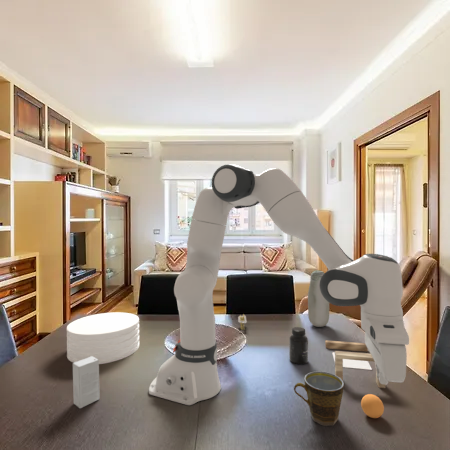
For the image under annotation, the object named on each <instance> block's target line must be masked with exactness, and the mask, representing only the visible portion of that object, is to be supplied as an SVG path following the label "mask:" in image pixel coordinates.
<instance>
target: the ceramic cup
mask: <svg viewBox="0 0 450 450" xmlns="http://www.w3.org/2000/svg"><path fill="white" fill-rule="evenodd" d="M303 381H304V383H303V382H297V383H296V384H295V385H294V387H293V390H294V393H295V394H296V395H297V396H299V397H300V398H301V399H302V400H303V401H304V402H306V403H307V405H308V408H309V412H310V413H309V414H310V417H311V419H312V420H313V422H315V423H317V424H319V425H321V426H324V427H325V426H334V425H335V424H336V423H337V421H339V415H340V409H341V404H342V398H343V396H344V395H343V393H344V389H345V383H344V380H343V381H342V380H341V379H340V378H339V377H338V376H336V375H335V373H330V372H327V371H318V370H317V371H312V372H308V373H307V374H305V375H304V380H303ZM297 387H301V388H303V389H304V391H305V392H306V396H307V399H305V397H304V396H303V395H301V394H300V393H299V392H297V390H296V389H297Z"/></svg>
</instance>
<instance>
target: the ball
mask: <svg viewBox="0 0 450 450" xmlns="http://www.w3.org/2000/svg"><path fill="white" fill-rule="evenodd" d="M360 406H361V409H362V411H363V413H364V414H365V415H366V416H367V417H369V418H371V419H378V418H380V417H382V415H384V412H385V411H384V410H385V405H384V403H383V400H381V399H380V397H378V395H376V394H373V393H368V394H367V393H366V394H365V395H364V396H363V397H362V399H361V401H360Z"/></svg>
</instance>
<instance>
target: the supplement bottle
mask: <svg viewBox="0 0 450 450" xmlns="http://www.w3.org/2000/svg"><path fill="white" fill-rule="evenodd" d="M291 328H292V329H291V335H290V337H289V349H288V350H289V351H288V352H289V361H290V362H291V363H292V364H295V365H305V364H307V363H308V362H309V339H308V337H307V336H306V328H304V327H299V326H295V327H291Z"/></svg>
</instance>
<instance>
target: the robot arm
mask: <svg viewBox="0 0 450 450" xmlns="http://www.w3.org/2000/svg"><path fill="white" fill-rule="evenodd" d="M258 204H261V206H262V208H263V209H264V210H265V212H266V213H267V214H268V217H270V219H271V221H272V222H273V224H274V225H275V226H276V227H277V228H278V229H279V230H280V231H282V232H283V233H284V234H286V235H288V236H292V237H294V238H297V239H299V240H302V241H303V242H305V243H306V244H307V245H309V246H310V247H311V248H312V249H313V251H314V252H315V254H316V255H317V256H318V258H319V259H320V260H321V262H323V264H324V265H325V267H326V268H327V270H326V271H325V272H324V274H323V276H322V277H321V280H320V291H321V294H322V295H323V297H324V298H325V299H326V300H327V301H328V302H329V304H331V305H333V306H337V307H354V306H356V307H357V306H360V326H361V327H360V328H361V330H362V331H364V343H365V344H366V346H367V348H368V352H369V354H371V355H372V357H373V359H374V361H375V362H374V364H375V371H376V370H377V378H378V380H379V382H380V383H381V384H385V386H386V385H388V384H389V382H391V383H392V382H393V383H404V381H405V379H406V375H407V355H408V354H407V347H406V346H407V345H410V336H409V334H408V332H407V329H406V328H405V323H404V322H405V321H404V312H403V311H404V310H403V307H402V297H403V295H404V294H403V293H404V291H403V290H404V288H403V277H402V269H401V267H400V263H398V262H397V260H396V259H394V258H393V257H391V256H388V255H382V254H378V253H365V254H363V255H362V256H361V257H359V258H357V259H355V260H354V259H352V258H350V257H349V255H347V254H346V253H345V252H344V251H343V249H342V248H341V246H340V244H338V243H337V242H336V240H335V239H334V237H332V235H331V234H330V233H329V231H328V230H327V229H326V227H325V226H324V225H323V223H322V222H321V220H320V218H319V217H318V215H317V214H316V212H315V210H314V208H313V207H312V205H311V203H310V202H309V200H308V199H307V197H306V195H304V193H303V192H302V190H301V189H300V188H299V186H298V185H297V184H296V183H295V181H293V180H292V178H291V177H290V176H288V174H286V173H285V171H283V170H281V168H277V167H276V168H275V167H271V168H269V169H266V170H264V171H263V172H261V173H260V174H259V173H258V174H255V173H254V172H253V171H252V170H250V169H248V168H245V167H243V166H240V165H237V164H232V163H231V164H224V165H222V166H219V167H218V168H217V169H216V170H215V171H214V173H213V175H212V177H211V186H210V187H205V188H203V189H202V190H201V191H200V192H199V195H198V196H197V200H196V202H195V205H194V208H193V213H192V216H191V221H190V225H189V226H190V227H189V230H188V237H187V240H186V241H187V242H186V246H187V248H186V249H187V251H186V252H187V254H186V264H185V268H184V270H182V271H181V272H179V274H178V276H177V277H176V279H175V283H174V286H173V294H174V297H175V299H176V304H177V310H178V315H179V328H180V331H179V332H180V333H179V335H180V337H179V338H180V339H179V340H178V341H177V343H176V344H175V346H174V348H173V349H172V353H173V355H171V357H169V358H168V359H167V360H165V361H164V362H163V363H162V364H161V365H160V367H159V369H158V371H157V374H156V377H155V378H154V379H153V380H152V381H151V383H150V385H149V386H148V395H150V396H155V397H158V398H162V399H165V400H169V401H172V402H174V403H179V404H183V405H186V406H193V405H194V404H196V403H197V402H200V401H204V400H208V399H212V398H213V397H215V396H217V394H219V393H220V391H221V390H222V385H221V381H220V378H219V377H220V376H219V373H218V372H219V371H218V365H217V360H218V346H217V345H218V343H217V341H216V317H215V309H214V300H213V299H214V298H213V293H214V289H215V287H216V286H217V282H218V276H219V271H220V270H219V269H220V263H221V256H222V248H223V243H224V238H225V233H226V228H227V224H228V223H227V222H228V218H229V214H230V212H231V211H232V209H237V210H238V209H243V208H251V207H254V206H256V205H258ZM174 353H175V354H174Z"/></svg>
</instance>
